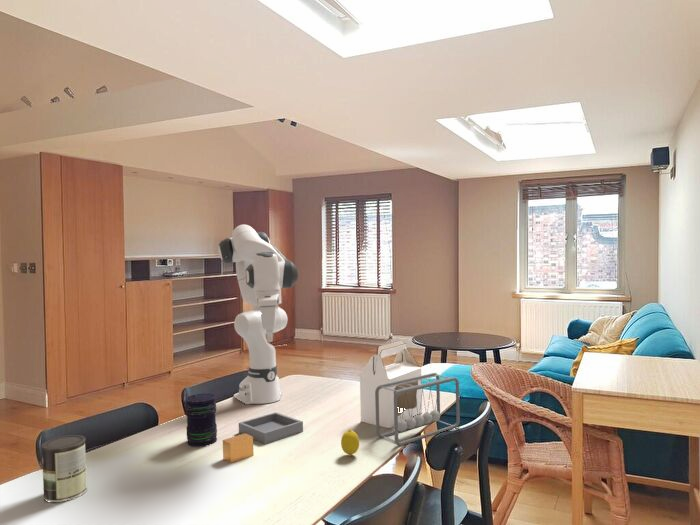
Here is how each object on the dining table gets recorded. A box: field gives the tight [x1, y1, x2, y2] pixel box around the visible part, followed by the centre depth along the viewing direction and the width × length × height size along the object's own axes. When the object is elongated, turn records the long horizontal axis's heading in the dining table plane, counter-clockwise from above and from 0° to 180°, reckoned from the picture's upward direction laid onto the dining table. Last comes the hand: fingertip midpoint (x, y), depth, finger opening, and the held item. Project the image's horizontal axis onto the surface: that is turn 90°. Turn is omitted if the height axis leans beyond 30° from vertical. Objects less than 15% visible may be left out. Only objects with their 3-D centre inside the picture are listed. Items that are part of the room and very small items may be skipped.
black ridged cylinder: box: [185, 393, 218, 448], centre depth 174 cm, size 10×10×15 cm
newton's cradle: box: [375, 372, 461, 447], centre depth 177 cm, size 30×10×18 cm, turn 127°
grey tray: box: [238, 411, 304, 445], centre depth 182 cm, size 16×16×4 cm
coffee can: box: [40, 434, 88, 503], centre depth 138 cm, size 10×10×14 cm
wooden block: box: [222, 433, 254, 464], centre depth 160 cm, size 4×8×6 cm, turn 134°
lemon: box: [340, 429, 360, 457], centre depth 159 cm, size 6×6×8 cm
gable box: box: [359, 340, 423, 429], centre depth 194 cm, size 22×13×28 cm, turn 141°
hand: (270, 339), depth 177 cm, fingers open, 8 cm apart
